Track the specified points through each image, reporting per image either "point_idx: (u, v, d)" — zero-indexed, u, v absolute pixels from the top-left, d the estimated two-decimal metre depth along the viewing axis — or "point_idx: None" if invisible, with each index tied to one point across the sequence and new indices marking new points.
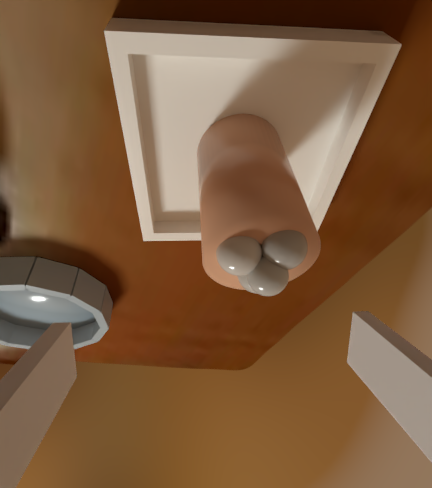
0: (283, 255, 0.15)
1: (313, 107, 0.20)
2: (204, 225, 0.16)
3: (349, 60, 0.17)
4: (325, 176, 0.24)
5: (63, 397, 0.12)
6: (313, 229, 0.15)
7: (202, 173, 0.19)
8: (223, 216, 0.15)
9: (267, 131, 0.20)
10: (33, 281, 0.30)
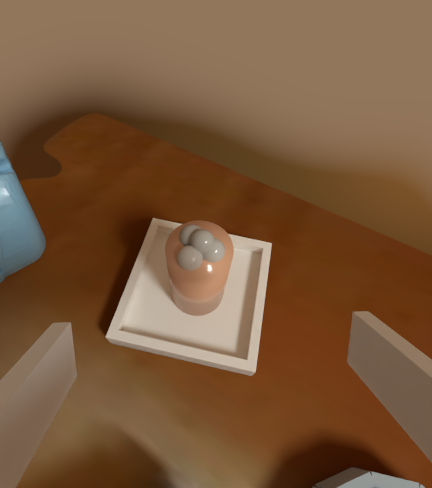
0: (185, 232, 0.28)
1: None
2: (181, 282, 0.28)
3: (153, 235, 0.38)
4: None
5: (63, 397, 0.12)
6: (183, 224, 0.29)
7: (180, 298, 0.32)
8: (169, 267, 0.28)
9: None
10: None
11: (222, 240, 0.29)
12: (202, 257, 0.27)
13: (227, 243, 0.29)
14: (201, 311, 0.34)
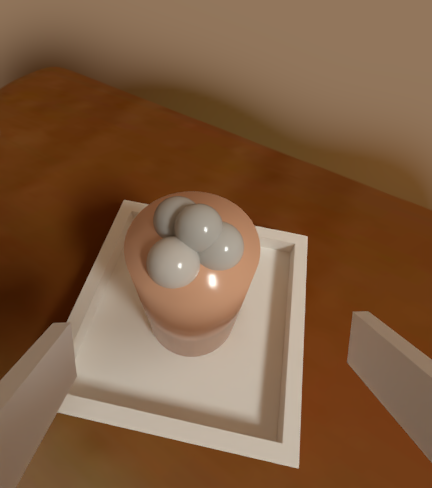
0: (163, 211, 0.14)
1: None
2: (157, 310, 0.14)
3: (122, 226, 0.25)
4: None
5: (63, 397, 0.12)
6: (162, 198, 0.16)
7: (162, 333, 0.18)
8: None
9: None
10: None
11: (237, 227, 0.15)
12: (198, 261, 0.13)
13: (247, 232, 0.15)
14: (198, 351, 0.20)
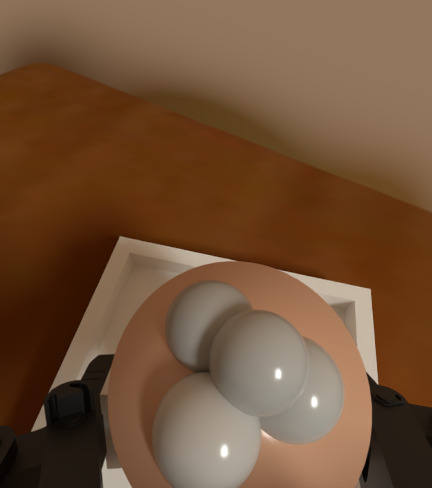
0: (186, 322, 0.07)
1: None
2: None
3: (117, 275, 0.18)
4: None
5: None
6: (180, 275, 0.09)
7: None
8: None
9: None
10: None
11: (319, 336, 0.08)
12: (260, 434, 0.06)
13: (339, 348, 0.08)
14: None
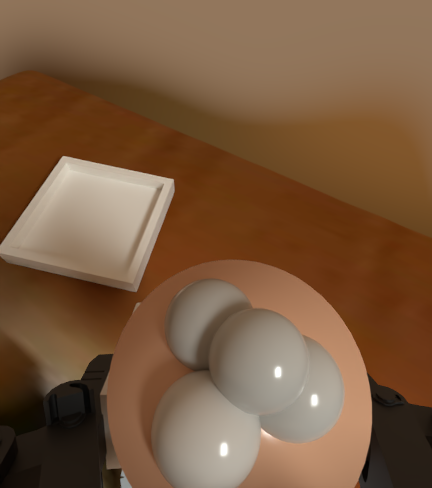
0: (186, 320, 0.07)
1: (85, 186, 0.41)
2: None
3: (59, 170, 0.41)
4: (125, 177, 0.42)
5: None
6: (179, 274, 0.09)
7: None
8: None
9: None
10: None
11: (319, 335, 0.08)
12: (260, 432, 0.06)
13: (339, 347, 0.08)
14: None
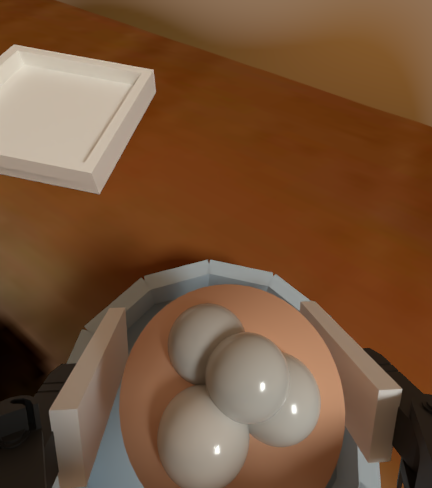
0: (186, 343, 0.08)
1: (41, 80, 0.33)
2: None
3: (7, 57, 0.32)
4: (92, 69, 0.33)
5: (122, 373, 0.14)
6: (180, 297, 0.10)
7: None
8: None
9: None
10: None
11: (302, 352, 0.09)
12: (248, 438, 0.08)
13: (318, 363, 0.09)
14: None
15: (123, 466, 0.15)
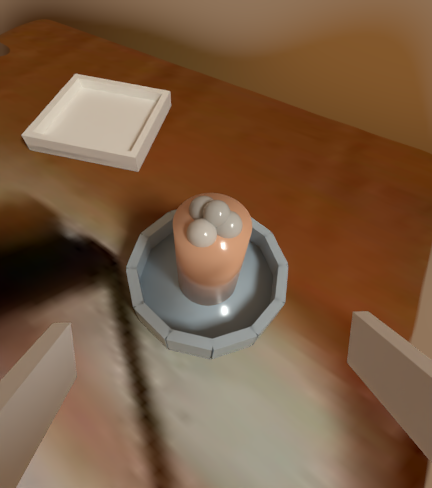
0: (196, 204, 0.24)
1: (94, 98, 0.48)
2: (191, 262, 0.24)
3: (73, 83, 0.48)
4: (128, 90, 0.49)
5: (63, 397, 0.12)
6: (193, 196, 0.26)
7: (190, 284, 0.28)
8: (177, 244, 0.24)
9: None
10: None
11: (238, 214, 0.25)
12: (216, 232, 0.23)
13: (244, 217, 0.25)
14: (212, 299, 0.30)
15: (162, 299, 0.31)
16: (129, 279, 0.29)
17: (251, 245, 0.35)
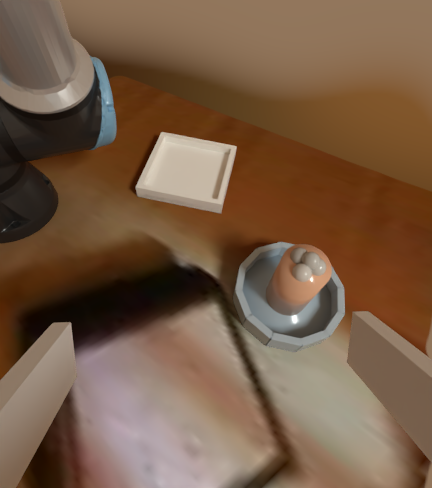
0: (297, 254, 0.38)
1: (177, 151, 0.62)
2: (294, 290, 0.38)
3: (161, 140, 0.61)
4: (203, 145, 0.62)
5: (63, 397, 0.12)
6: (290, 247, 0.40)
7: (283, 302, 0.42)
8: (285, 279, 0.38)
9: None
10: None
11: (321, 259, 0.39)
12: (311, 272, 0.37)
13: (325, 261, 0.39)
14: (295, 311, 0.44)
15: (257, 311, 0.45)
16: (239, 298, 0.43)
17: None
